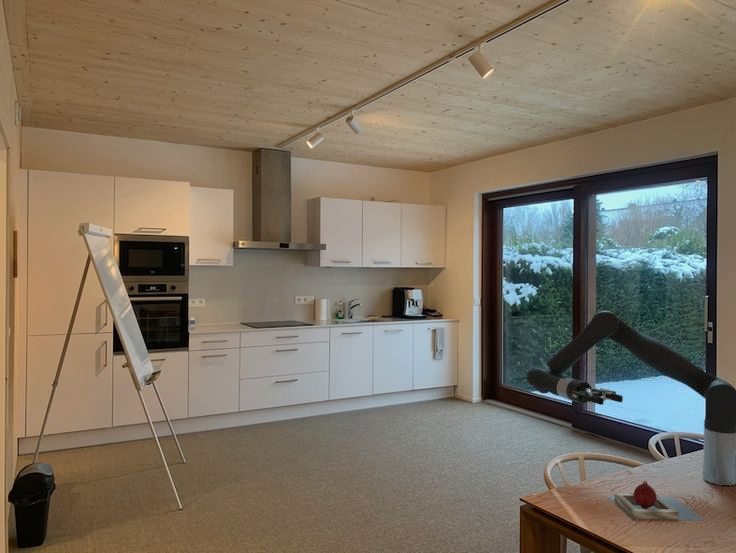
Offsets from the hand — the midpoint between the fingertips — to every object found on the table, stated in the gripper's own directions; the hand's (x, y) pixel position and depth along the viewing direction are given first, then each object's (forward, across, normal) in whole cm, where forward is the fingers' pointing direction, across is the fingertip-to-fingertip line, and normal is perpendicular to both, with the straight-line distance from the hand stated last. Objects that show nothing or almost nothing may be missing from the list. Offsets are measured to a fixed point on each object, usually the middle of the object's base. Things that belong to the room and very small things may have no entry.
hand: (612, 400), depth 174 cm
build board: (+18, -4, +28) cm, 34 cm away
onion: (+18, -7, +27) cm, 33 cm away
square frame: (+18, -7, +26) cm, 33 cm away
